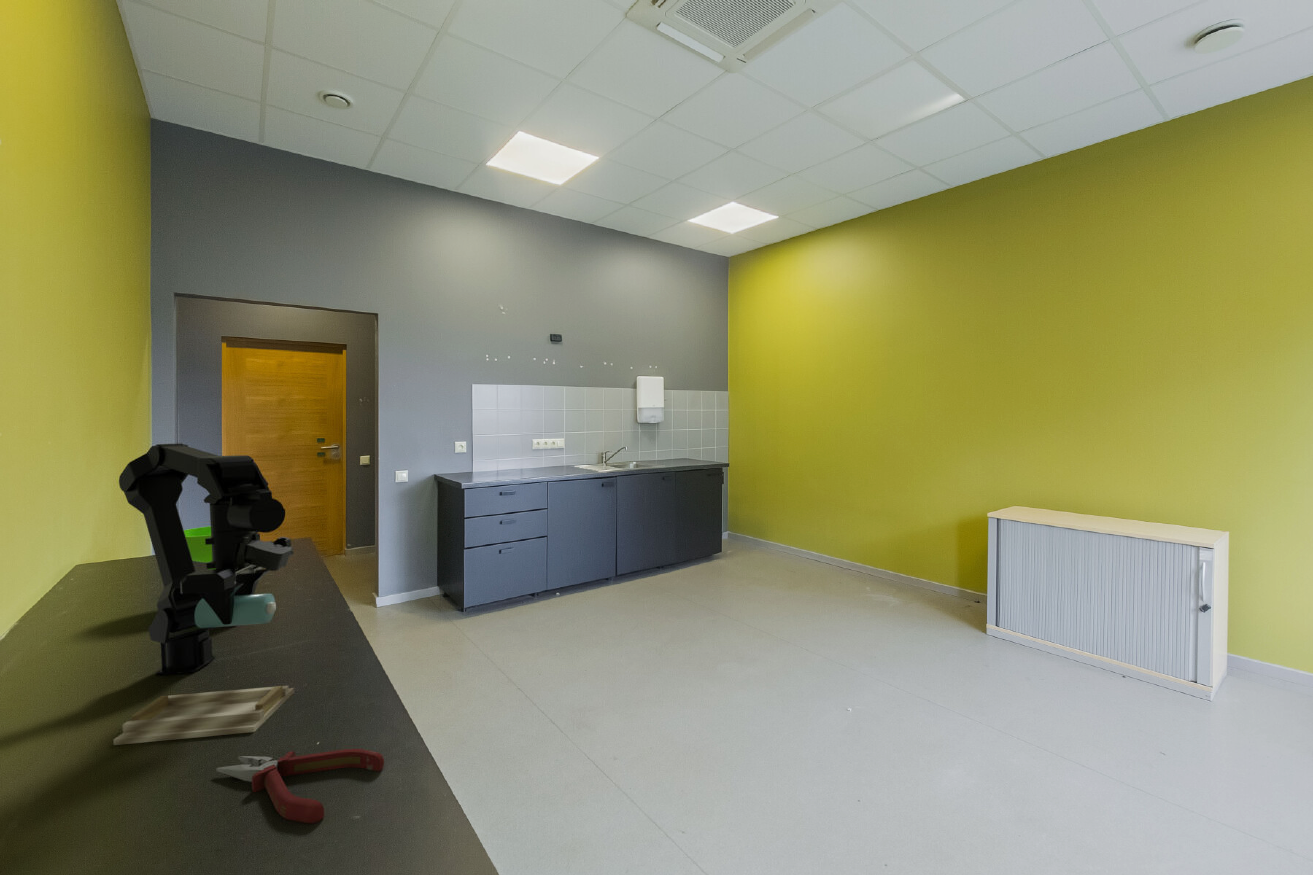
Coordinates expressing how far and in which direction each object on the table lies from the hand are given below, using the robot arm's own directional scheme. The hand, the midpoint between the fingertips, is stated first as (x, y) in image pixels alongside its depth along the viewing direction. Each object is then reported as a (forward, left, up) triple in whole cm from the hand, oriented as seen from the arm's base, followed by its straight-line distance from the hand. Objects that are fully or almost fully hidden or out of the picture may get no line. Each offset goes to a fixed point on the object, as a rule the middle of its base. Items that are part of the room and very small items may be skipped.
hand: (236, 618), depth 98 cm
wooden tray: (+2, -12, -11) cm, 17 cm away
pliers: (+24, -30, -12) cm, 40 cm away
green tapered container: (-34, +53, -11) cm, 64 cm away
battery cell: (0, 0, -1) cm, 1 cm away
